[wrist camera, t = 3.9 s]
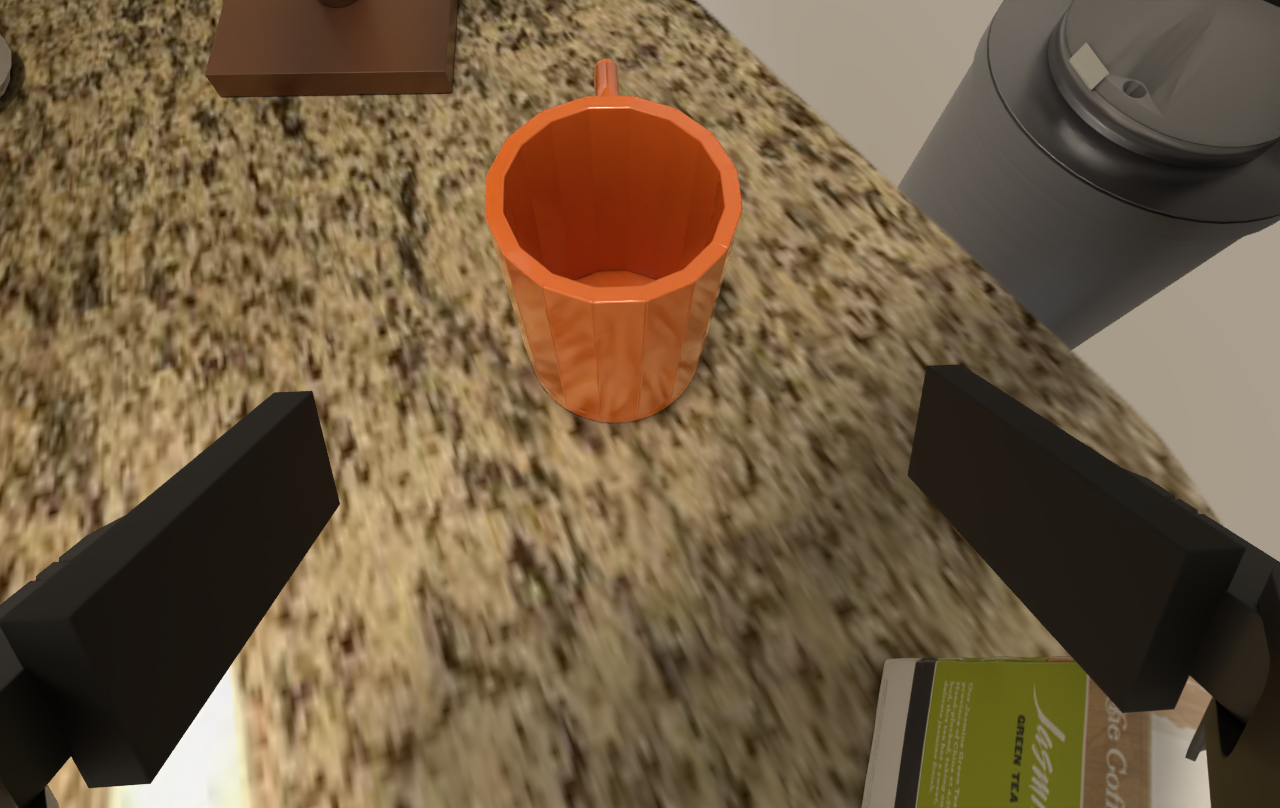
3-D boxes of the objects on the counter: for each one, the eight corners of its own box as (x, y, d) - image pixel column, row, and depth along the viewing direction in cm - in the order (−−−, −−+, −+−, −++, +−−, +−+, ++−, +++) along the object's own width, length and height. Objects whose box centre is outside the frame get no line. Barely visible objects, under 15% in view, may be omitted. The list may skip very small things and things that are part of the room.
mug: (708, 419, 30) (755, 297, 19) (528, 427, 29) (481, 307, 19) (686, 202, 34) (714, 12, 24) (530, 206, 34) (491, 14, 24)
